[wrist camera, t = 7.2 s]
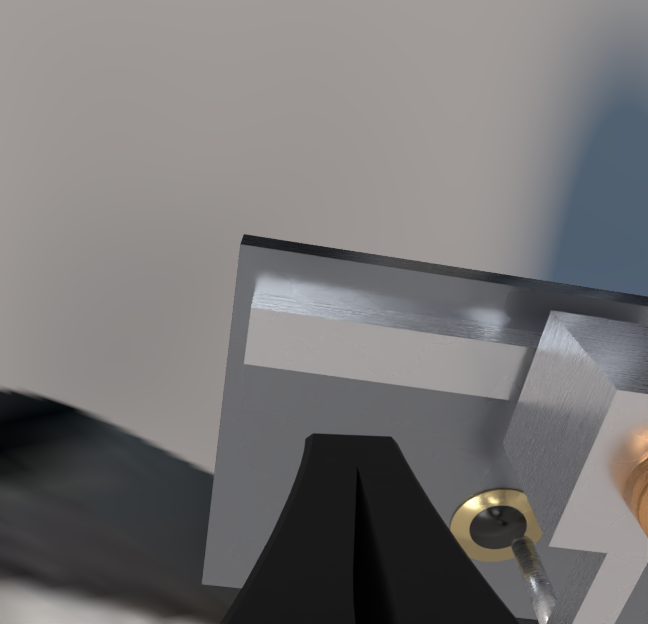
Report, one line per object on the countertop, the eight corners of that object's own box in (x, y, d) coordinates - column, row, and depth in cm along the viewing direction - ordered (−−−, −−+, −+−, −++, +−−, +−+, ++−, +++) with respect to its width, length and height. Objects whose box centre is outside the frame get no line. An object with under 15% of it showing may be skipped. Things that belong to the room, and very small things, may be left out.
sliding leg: (687, 318, 15) (847, 443, 11) (576, 553, 19) (661, 724, 14) (538, 296, 15) (637, 415, 10) (454, 539, 19) (500, 709, 14)
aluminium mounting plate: (936, 341, 17) (1249, 498, 12) (745, 623, 22) (896, 831, 17) (243, 234, 16) (202, 355, 10) (205, 564, 21) (163, 773, 15)
